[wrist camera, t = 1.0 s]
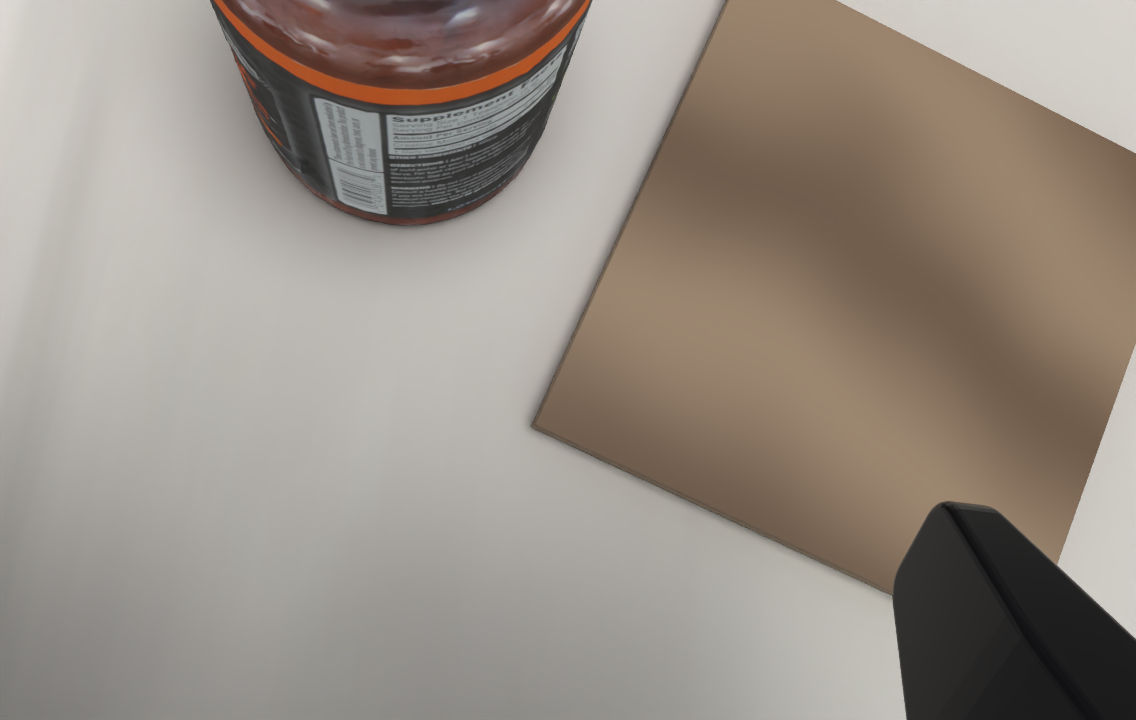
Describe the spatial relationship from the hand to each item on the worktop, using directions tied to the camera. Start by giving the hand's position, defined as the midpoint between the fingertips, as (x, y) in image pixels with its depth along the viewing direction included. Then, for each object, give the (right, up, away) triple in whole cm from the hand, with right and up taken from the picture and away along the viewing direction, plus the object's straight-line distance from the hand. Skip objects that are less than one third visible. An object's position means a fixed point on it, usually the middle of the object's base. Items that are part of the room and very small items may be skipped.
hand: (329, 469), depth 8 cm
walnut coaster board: (+8, +2, +16) cm, 18 cm away
